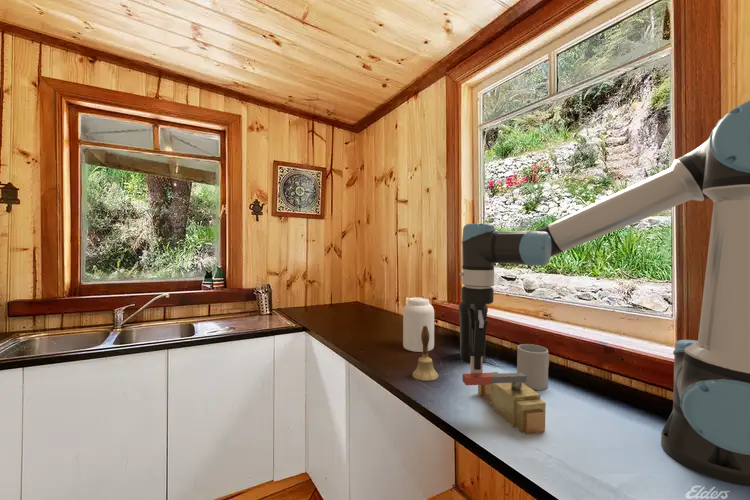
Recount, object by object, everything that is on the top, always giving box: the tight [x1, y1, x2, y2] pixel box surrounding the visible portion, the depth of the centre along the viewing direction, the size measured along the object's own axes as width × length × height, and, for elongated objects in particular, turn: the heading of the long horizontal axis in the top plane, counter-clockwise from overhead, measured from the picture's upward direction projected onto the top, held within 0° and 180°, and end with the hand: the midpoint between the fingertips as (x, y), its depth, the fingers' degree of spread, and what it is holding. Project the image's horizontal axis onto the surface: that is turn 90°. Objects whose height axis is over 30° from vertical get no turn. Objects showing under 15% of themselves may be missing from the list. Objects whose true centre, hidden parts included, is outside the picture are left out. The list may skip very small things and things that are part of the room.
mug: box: [516, 343, 550, 391], centre depth 100 cm, size 12×8×11 cm
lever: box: [462, 372, 527, 391], centre depth 80 cm, size 15×2×4 cm, turn 95°
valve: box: [477, 371, 547, 435], centre depth 84 cm, size 20×7×7 cm, turn 12°
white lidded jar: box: [402, 297, 435, 353], centre depth 133 cm, size 12×12×20 cm
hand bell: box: [411, 326, 439, 382], centre depth 105 cm, size 8×8×16 cm
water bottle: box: [458, 300, 489, 364], centre depth 119 cm, size 10×10×23 cm
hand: (476, 380), depth 82 cm, fingers closed
